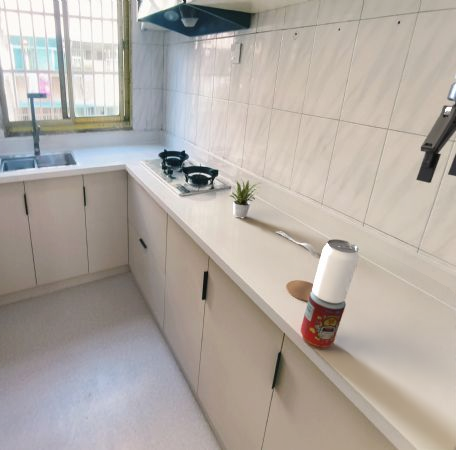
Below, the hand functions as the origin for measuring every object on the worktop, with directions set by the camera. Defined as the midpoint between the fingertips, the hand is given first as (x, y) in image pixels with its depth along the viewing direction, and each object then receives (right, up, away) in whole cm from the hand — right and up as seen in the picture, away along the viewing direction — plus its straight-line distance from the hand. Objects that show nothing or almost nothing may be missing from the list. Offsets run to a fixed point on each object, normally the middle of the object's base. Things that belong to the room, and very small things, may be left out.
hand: (439, 178), depth 81 cm
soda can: (-31, -38, -4) cm, 49 cm away
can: (-31, -26, -8) cm, 41 cm away
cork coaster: (-26, -30, +14) cm, 42 cm away
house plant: (-31, -8, +64) cm, 71 cm away
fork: (-17, -18, +42) cm, 49 cm away
